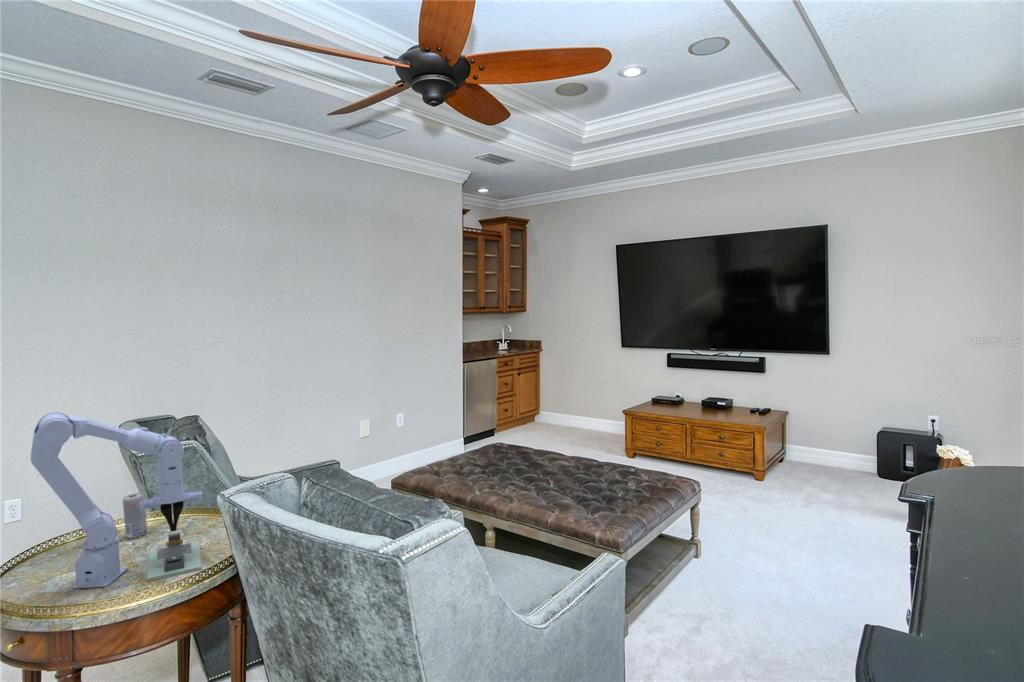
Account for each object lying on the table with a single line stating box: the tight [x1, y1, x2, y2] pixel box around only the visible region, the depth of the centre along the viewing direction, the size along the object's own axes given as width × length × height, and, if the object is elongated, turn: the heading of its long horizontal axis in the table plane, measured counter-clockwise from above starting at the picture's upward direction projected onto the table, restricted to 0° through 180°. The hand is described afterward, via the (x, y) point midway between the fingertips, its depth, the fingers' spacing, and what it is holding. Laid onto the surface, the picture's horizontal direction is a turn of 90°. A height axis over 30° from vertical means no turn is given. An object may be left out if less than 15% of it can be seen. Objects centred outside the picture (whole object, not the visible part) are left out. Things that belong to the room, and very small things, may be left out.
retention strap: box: [165, 538, 184, 563], centre depth 149 cm, size 13×4×1 cm, turn 31°
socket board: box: [146, 532, 202, 582], centre depth 149 cm, size 18×12×5 cm, turn 31°
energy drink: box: [122, 493, 148, 539], centre depth 166 cm, size 5×5×12 cm
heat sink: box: [156, 542, 192, 568], centre depth 149 cm, size 8×8×2 cm
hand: (173, 529), depth 151 cm, fingers closed
